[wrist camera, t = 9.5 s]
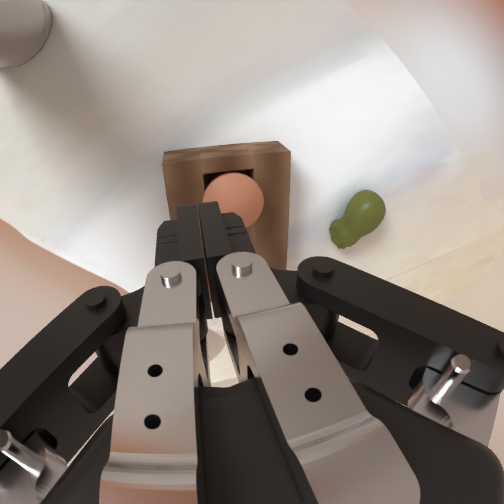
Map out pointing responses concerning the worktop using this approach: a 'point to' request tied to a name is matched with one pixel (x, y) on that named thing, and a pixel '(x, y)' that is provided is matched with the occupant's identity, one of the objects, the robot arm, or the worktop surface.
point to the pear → (358, 219)
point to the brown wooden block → (245, 162)
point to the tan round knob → (235, 195)
